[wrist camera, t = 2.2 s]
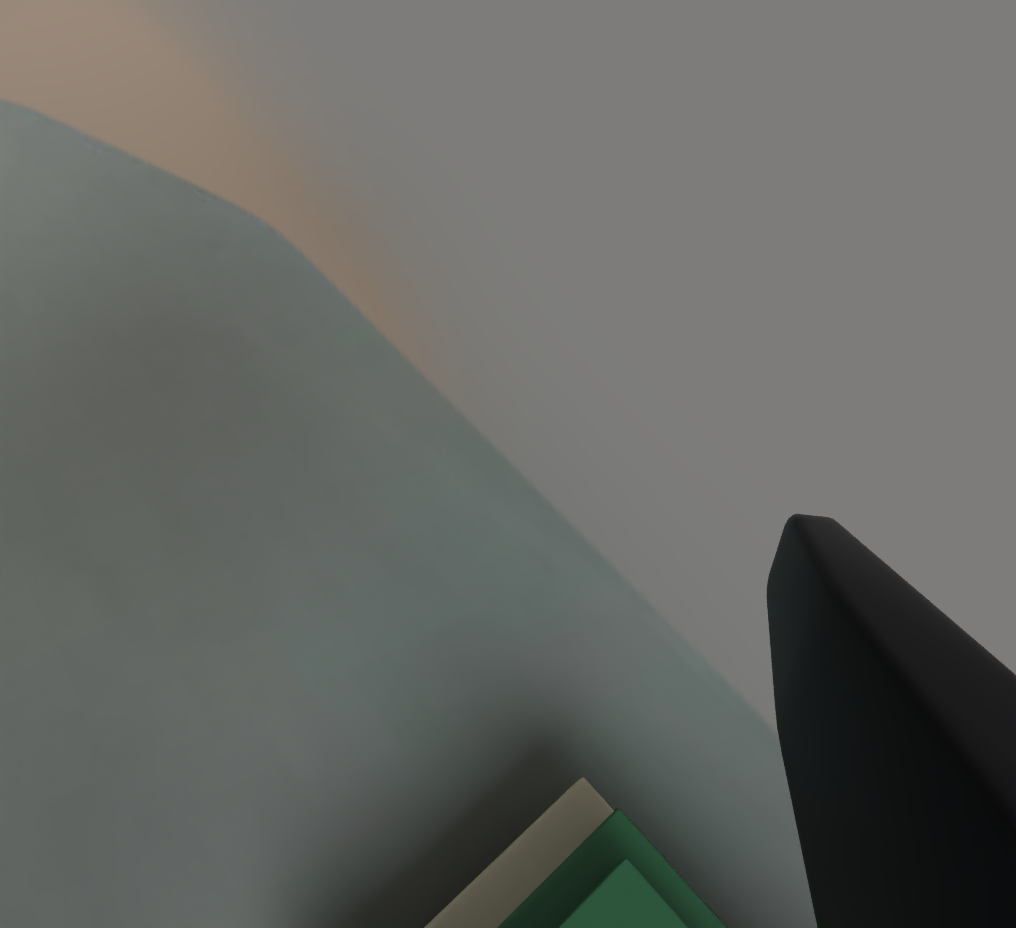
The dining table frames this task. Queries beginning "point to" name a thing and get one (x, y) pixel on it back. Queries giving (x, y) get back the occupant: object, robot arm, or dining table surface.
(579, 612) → the dining table surface
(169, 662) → the dining table surface
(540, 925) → the stack of green books
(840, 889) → the robot arm
